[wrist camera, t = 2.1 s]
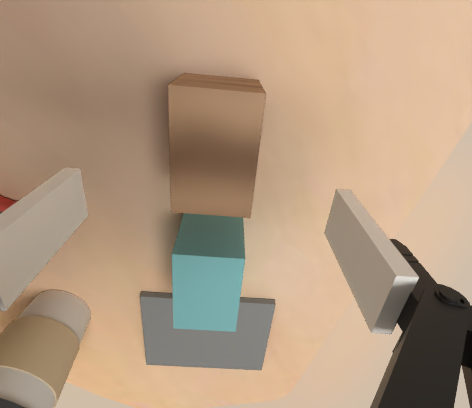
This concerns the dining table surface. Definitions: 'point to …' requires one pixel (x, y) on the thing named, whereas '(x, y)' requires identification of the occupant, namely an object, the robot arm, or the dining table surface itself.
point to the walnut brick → (214, 143)
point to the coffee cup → (41, 349)
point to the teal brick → (207, 272)
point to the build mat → (206, 336)
